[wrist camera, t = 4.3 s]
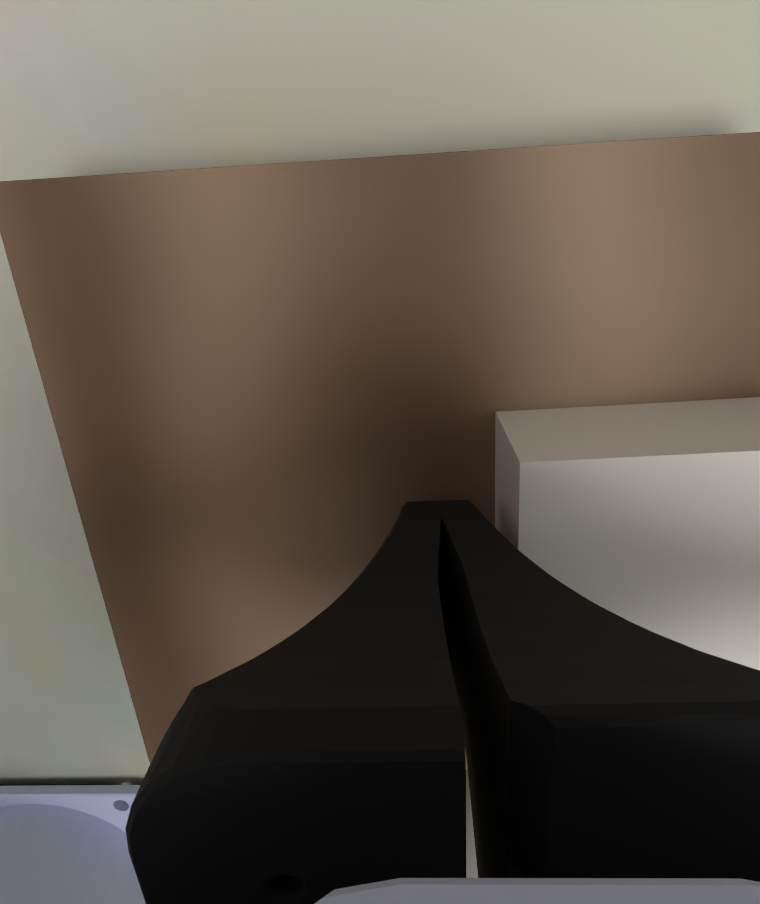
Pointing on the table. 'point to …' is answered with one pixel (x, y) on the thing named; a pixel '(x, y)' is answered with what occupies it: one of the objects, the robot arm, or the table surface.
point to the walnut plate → (352, 355)
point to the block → (643, 512)
